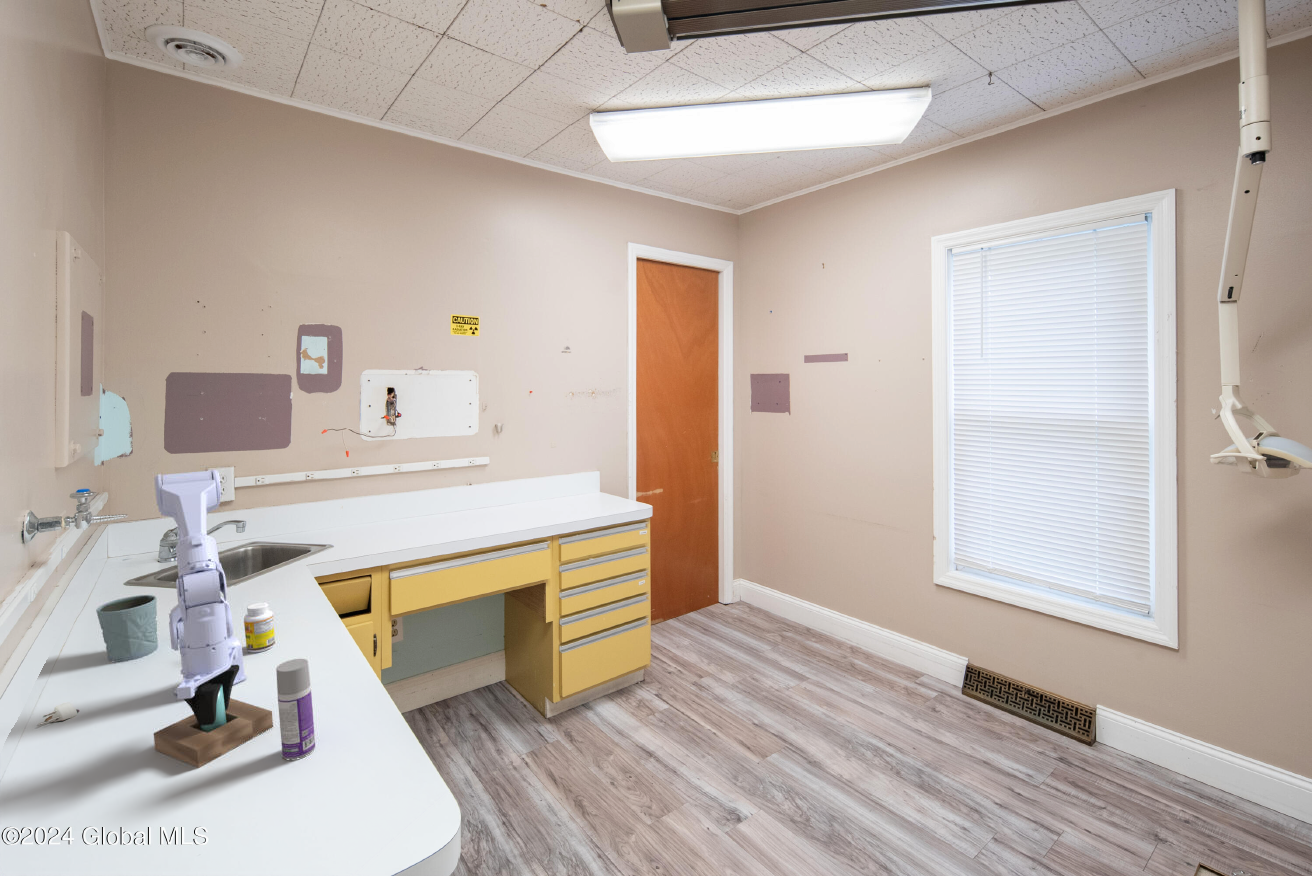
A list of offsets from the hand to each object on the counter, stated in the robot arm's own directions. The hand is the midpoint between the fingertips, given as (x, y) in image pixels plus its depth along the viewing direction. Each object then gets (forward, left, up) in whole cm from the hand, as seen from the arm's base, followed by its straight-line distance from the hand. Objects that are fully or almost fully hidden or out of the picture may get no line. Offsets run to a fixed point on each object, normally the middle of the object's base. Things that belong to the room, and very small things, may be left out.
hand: (213, 717), depth 103 cm
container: (-3, +17, -4) cm, 18 cm away
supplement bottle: (-26, -28, -4) cm, 38 cm away
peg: (0, 0, -3) cm, 3 cm away
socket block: (0, 0, -4) cm, 4 cm away
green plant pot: (-13, -53, -4) cm, 55 cm away
